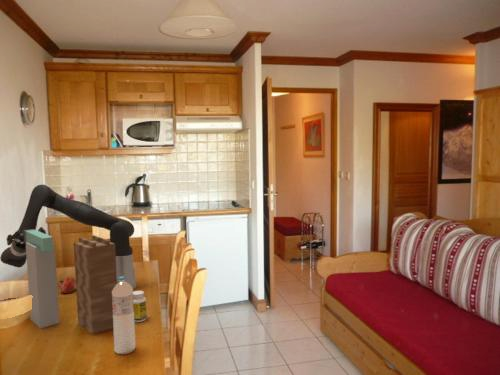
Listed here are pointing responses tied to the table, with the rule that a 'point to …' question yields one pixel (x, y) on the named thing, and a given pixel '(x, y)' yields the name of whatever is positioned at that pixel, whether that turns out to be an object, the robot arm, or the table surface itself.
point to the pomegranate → (67, 285)
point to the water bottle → (123, 317)
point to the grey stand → (42, 286)
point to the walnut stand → (95, 283)
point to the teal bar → (39, 240)
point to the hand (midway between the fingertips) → (30, 230)
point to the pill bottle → (139, 306)
